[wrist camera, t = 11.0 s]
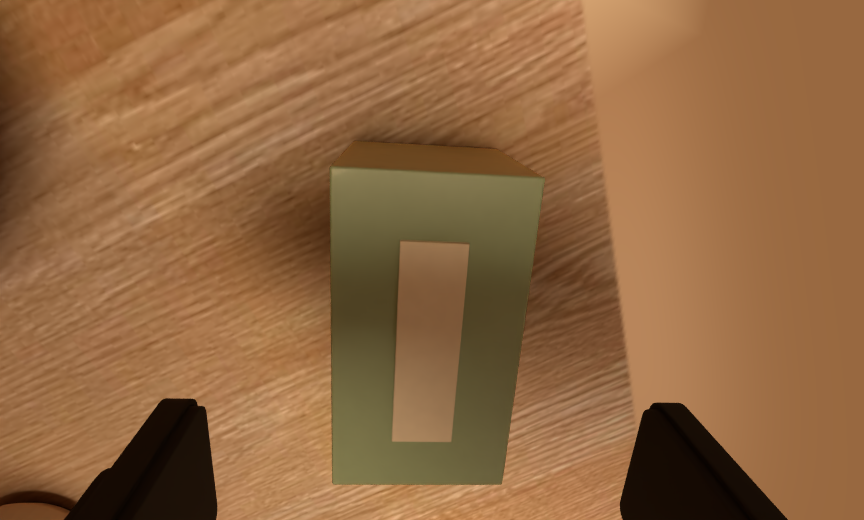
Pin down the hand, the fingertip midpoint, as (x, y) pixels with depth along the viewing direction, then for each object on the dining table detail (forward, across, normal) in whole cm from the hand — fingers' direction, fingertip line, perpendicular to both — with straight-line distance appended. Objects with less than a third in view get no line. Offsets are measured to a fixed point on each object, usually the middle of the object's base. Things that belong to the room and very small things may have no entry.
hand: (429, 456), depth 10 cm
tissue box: (+12, 0, 0) cm, 12 cm away
